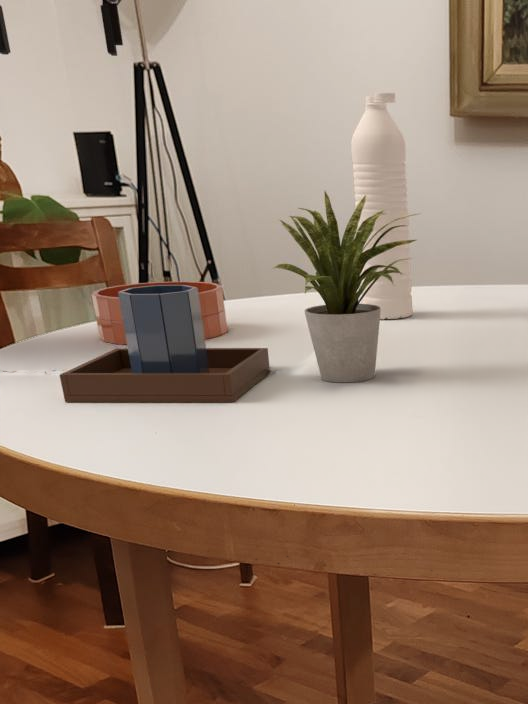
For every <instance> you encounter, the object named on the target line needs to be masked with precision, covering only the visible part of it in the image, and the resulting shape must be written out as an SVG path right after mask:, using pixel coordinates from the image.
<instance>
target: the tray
mask: <svg viewBox="0 0 528 704" xmlns="http://www.w3.org/2000/svg"><path fill="white" fill-rule="evenodd" d="M206 352H207V359H208V366H209V373H132V370H131V364H130V358H129V352H128V347H126V348H125V347H124V348H123V347H122V348H121V347H120V348H118V347H117V348H114V349H112V350H110V351H107V352H105V353H103V354H101V355H99V356H97V357H95V358H92V359H90V360H88V361H86V362H84V363H82V364H79V365H78V366H75V367H73V368H71V369H69V370H67V371H64V372H62V373H60V374H59V381H60V385H61V390H62V394H63V400H64V402H65V403H234V402H236V400H238V399H239V398H240V397H242V396H243V395H244V394H245V393H247V392H248V391H249V390H251V389H252V388H253V387H255V386H256V385H257V384H258V383H259V382H260V381H262V380H263V379H265V378H266V377H267V376H268V375H269V374H271V369H270V359H269V349H268V347H206Z"/></svg>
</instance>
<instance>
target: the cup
mask: <svg viewBox="0 0 528 704" xmlns="http://www.w3.org/2000/svg"><path fill="white" fill-rule="evenodd" d="M118 295H119V301H120V307H121V312H122V318H123V324H124V330H125V335H126V341H127V344H126V345H127V347H126V348H128V352H129V358H130V364H131V370H132V373H209V366H208V359H207V352H206V348H207V345H206V339H205V337H204V330H203V323H202V316H201V309H200V301H199V294H198V288H197V287H193V286H188V285H153V286H143V287H134V288H128V289H125V290H122V291H119V292H118Z"/></svg>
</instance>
